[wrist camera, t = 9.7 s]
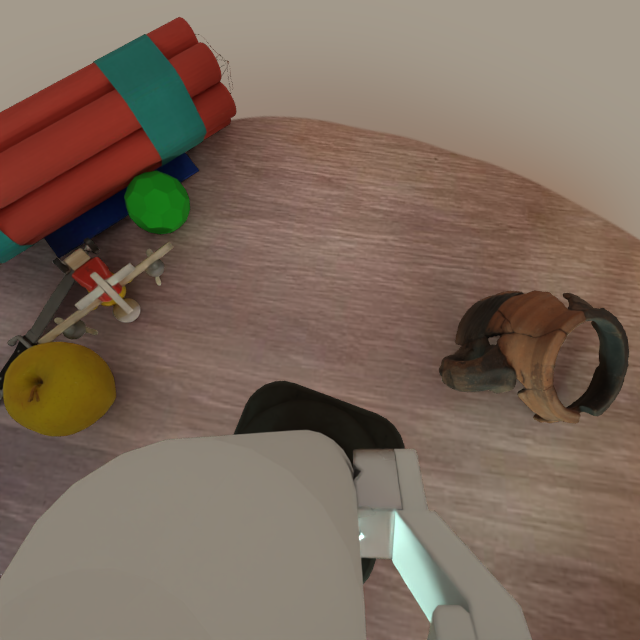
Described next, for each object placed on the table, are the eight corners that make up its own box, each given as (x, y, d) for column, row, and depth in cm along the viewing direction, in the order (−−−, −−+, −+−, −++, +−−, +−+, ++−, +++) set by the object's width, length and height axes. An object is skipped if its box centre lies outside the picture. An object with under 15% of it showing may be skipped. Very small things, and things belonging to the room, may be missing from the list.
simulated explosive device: (255, 57, 29) (264, 144, 39) (170, -40, 31) (199, 67, 40) (-103, 266, 24) (10, 305, 34) (-186, 138, 26) (-54, 212, 35)
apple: (123, 440, 31) (46, 447, 23) (49, 424, 31) (-49, 427, 24) (146, 359, 32) (81, 341, 24) (75, 346, 33) (-10, 324, 25)
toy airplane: (61, 241, 33) (113, 296, 37) (-3, 319, 26) (69, 374, 30) (154, 210, 30) (198, 272, 35) (109, 286, 24) (170, 350, 28)
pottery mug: (524, 273, 32) (633, 272, 24) (542, 379, 34) (647, 410, 26) (398, 318, 29) (476, 335, 21) (425, 432, 31) (506, 486, 23)
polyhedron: (208, 206, 35) (187, 174, 30) (178, 252, 34) (151, 226, 30) (164, 184, 36) (136, 149, 31) (133, 227, 35) (100, 199, 30)
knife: (-22, 399, 33) (-5, 418, 32) (-32, 398, 32) (-15, 418, 31) (77, 243, 34) (97, 255, 33) (70, 239, 34) (90, 252, 32)
